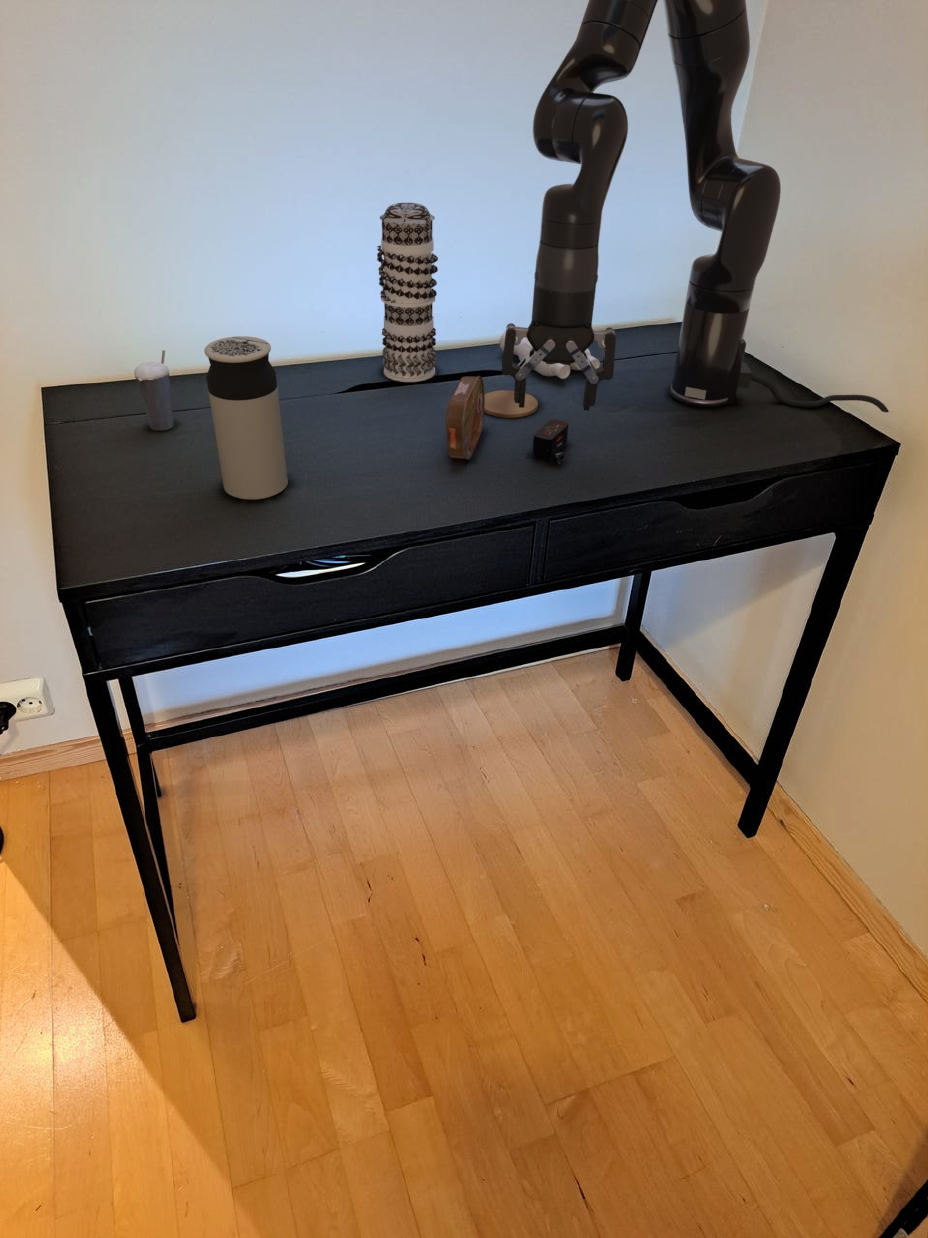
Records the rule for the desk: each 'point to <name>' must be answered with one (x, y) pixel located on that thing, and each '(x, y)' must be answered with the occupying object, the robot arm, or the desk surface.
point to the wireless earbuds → (550, 441)
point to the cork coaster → (508, 404)
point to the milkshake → (155, 393)
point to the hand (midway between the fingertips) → (553, 406)
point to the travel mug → (246, 417)
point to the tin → (465, 417)
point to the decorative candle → (408, 292)
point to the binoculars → (542, 367)
